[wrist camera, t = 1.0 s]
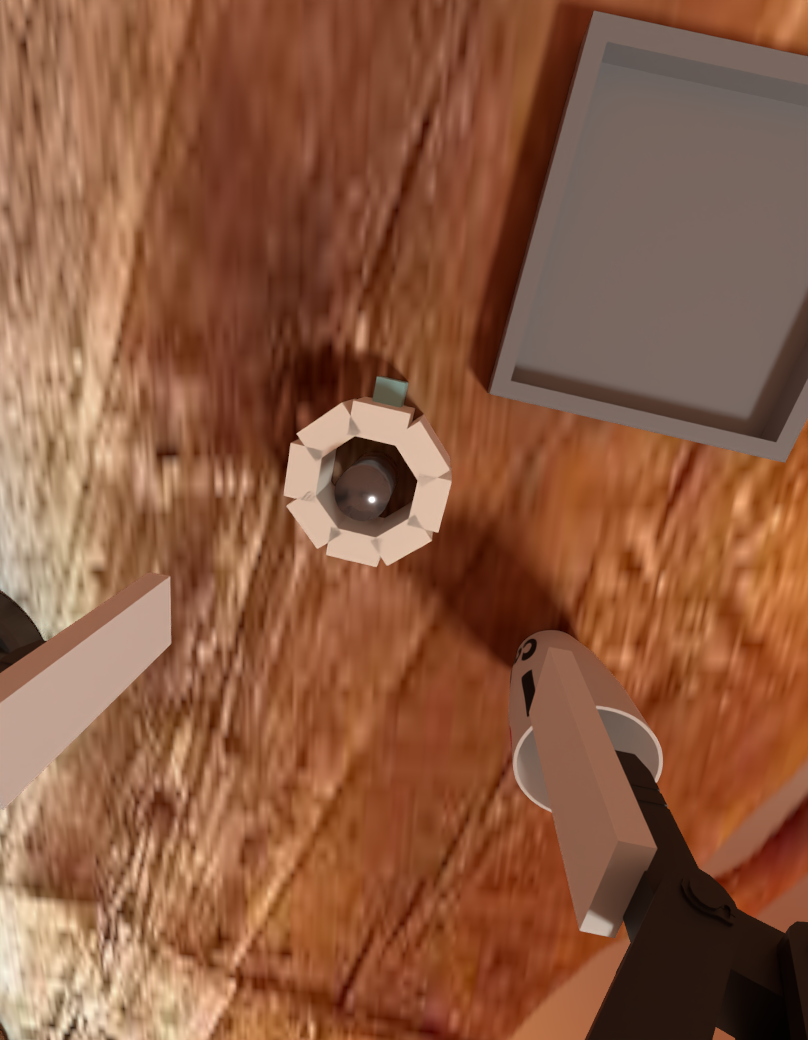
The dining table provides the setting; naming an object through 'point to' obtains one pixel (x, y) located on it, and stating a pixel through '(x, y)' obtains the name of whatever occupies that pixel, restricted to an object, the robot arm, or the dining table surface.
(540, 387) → the tray
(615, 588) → the dining table surface
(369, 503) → the capsule
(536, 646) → the cup
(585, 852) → the robot arm
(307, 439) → the ring
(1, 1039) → the planter
